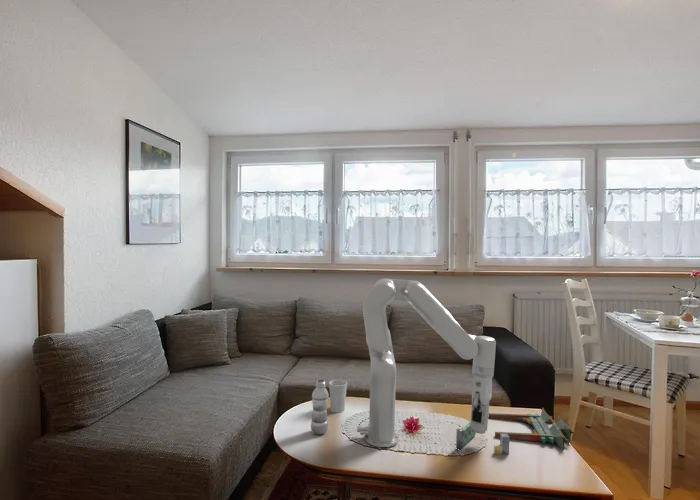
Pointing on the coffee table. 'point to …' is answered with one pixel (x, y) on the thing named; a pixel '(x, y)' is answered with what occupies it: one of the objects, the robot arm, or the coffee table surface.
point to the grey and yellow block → (502, 445)
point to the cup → (337, 395)
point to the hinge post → (459, 439)
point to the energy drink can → (481, 426)
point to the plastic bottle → (319, 408)
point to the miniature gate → (538, 428)
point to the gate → (467, 433)
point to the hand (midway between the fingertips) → (479, 418)
